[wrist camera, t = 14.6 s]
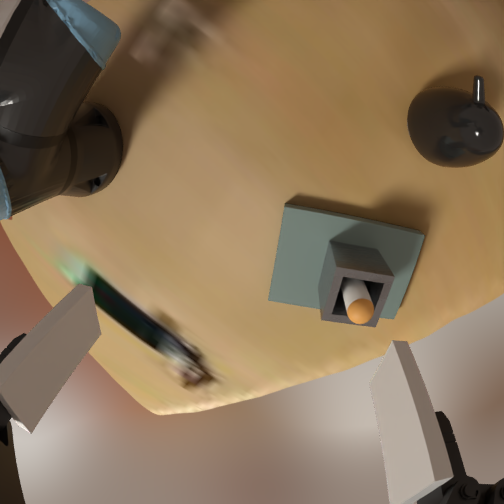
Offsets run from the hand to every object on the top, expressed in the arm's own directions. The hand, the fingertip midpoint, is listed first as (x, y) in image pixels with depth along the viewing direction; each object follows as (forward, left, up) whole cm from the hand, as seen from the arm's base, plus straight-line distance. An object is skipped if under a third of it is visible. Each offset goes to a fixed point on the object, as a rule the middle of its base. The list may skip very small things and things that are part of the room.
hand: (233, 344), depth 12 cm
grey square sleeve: (+11, -8, -27) cm, 30 cm away
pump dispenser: (+19, +14, -29) cm, 38 cm away
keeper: (+11, -8, -29) cm, 32 cm away
